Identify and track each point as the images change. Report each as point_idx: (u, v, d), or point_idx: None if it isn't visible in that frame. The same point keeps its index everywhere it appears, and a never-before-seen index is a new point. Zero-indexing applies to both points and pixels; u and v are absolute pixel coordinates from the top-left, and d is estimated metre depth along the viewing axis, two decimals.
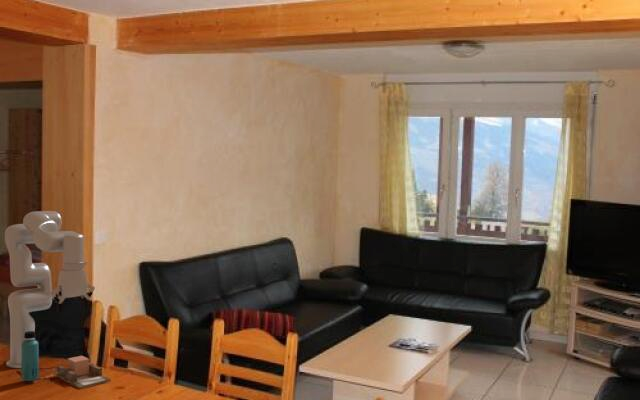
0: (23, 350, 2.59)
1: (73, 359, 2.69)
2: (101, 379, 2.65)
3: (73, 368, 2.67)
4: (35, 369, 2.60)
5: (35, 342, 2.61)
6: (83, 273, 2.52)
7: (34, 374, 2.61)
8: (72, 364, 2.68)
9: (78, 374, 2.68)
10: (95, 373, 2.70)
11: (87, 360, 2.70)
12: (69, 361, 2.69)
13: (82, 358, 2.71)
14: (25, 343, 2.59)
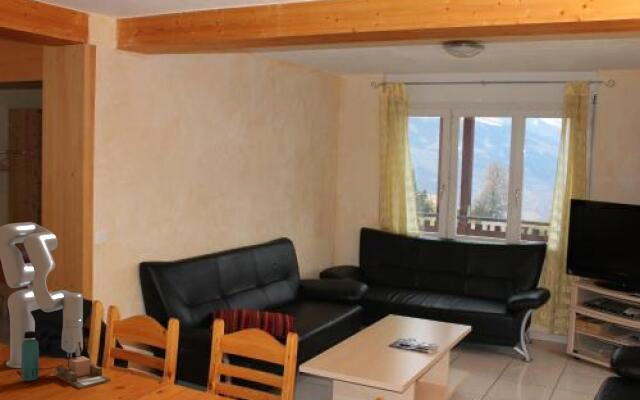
0: (23, 350, 2.59)
1: (74, 359, 2.69)
2: (101, 379, 2.65)
3: (74, 368, 2.67)
4: (35, 369, 2.60)
5: (35, 342, 2.61)
6: None
7: (34, 374, 2.61)
8: (73, 365, 2.67)
9: (79, 374, 2.67)
10: (95, 373, 2.70)
11: (88, 360, 2.69)
12: (70, 361, 2.69)
13: (83, 358, 2.71)
14: (25, 343, 2.59)
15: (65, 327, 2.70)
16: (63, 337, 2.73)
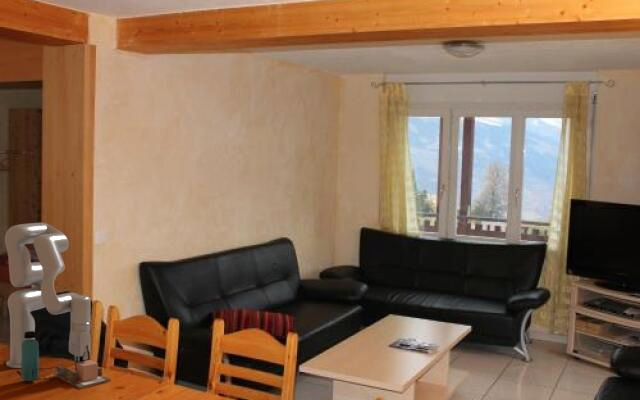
0: (23, 350, 2.59)
1: (82, 363, 2.64)
2: (101, 379, 2.65)
3: (82, 372, 2.62)
4: (35, 369, 2.60)
5: (35, 342, 2.61)
6: None
7: (34, 374, 2.61)
8: (80, 369, 2.63)
9: (87, 379, 2.63)
10: None
11: (96, 364, 2.65)
12: (78, 365, 2.64)
13: (90, 362, 2.66)
14: (25, 343, 2.59)
15: (73, 330, 2.65)
16: (70, 340, 2.69)
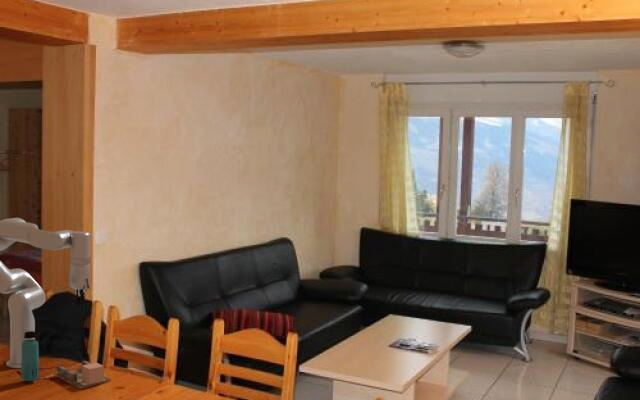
0: (23, 350, 2.59)
1: (87, 366, 2.61)
2: None
3: (87, 375, 2.59)
4: (35, 369, 2.60)
5: (35, 342, 2.61)
6: None
7: (34, 374, 2.61)
8: (86, 371, 2.60)
9: (93, 382, 2.59)
10: None
11: (102, 367, 2.62)
12: (83, 368, 2.61)
13: (96, 365, 2.63)
14: (25, 343, 2.59)
15: (73, 264, 2.75)
16: (71, 275, 2.78)
